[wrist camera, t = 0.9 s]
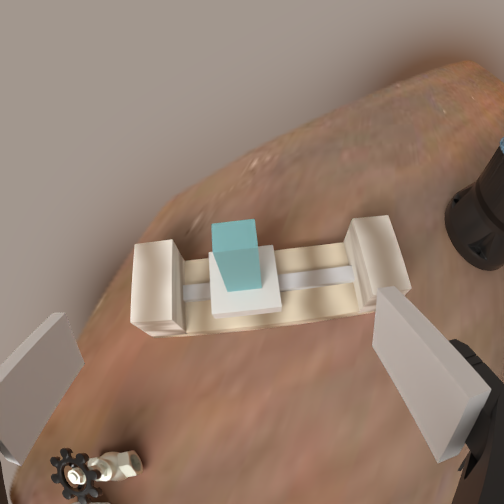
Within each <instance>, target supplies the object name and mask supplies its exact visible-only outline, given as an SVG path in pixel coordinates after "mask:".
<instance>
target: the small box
mask: <svg viewBox="0 0 504 504" xmlns="http://www.w3.org/2000/svg"><path fill="white" fill-rule="evenodd" d="M72 504H80V503H79V502H75V503H72ZM90 504H110V503H92V502H91V503H90Z"/></svg>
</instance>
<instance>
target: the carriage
mask: <svg viewBox="0 0 504 504" xmlns="http://www.w3.org/2000/svg"><path fill="white" fill-rule="evenodd" d="M211 225H212V248H213V252H209V271H210V291H211V309H212V315H213V317H214V318H215V319H219V318H229V317H239V316H248V315H257V314H265V313H274V312H281V311H282V304H281V297H280V290H279V283H278V276H277V269H276V262H275V255H274V249H273V245H266V246H258V243H257V235H256V227H255V219H249V220H240V221H232V222H224V223H216V224H211Z"/></svg>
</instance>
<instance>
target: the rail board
mask: <svg viewBox="0 0 504 504" xmlns="http://www.w3.org/2000/svg"><path fill="white" fill-rule="evenodd" d="M274 255H275V262H276V269H277V276H278V283H279V290H280V297H281V304H282V311H281V312H274V313H265V314H257V315H248V316H239V317H229V318H219V319H215V318H214V317H213V315H212V309H211V291H210V271H209V258H206V259H197V260H189V261H184V259H183V257H182V256H181V254H180V252H179V250H178V248H177V247H176V245H175V243H174V241H173V239H171V240H164V241H156V242H149V243H142V244H135V249H134V261H133V275H132V293H131V323H132V324H134V325H135V326H137V327H138V328H140V329H141V330H143V331H144V332H146V333H147V334H149V335H151V336H152V337H154V338H163V337H179V336H193V335H206V334H218V333H228V332H238V331H248V330H257V329H266V328H274V327H282V326H290V325H297V324H304V323H311V322H318V321H325V320H331V319H338V318H344V317H350V316H356V315H361V314H367V313H372V312H376V301H377V288H383V287H390V286H395V287H396V288H397V289H398V290H399V291H400V292H401V293H402V294H403V295H405V294H406V293H407V292H408V291H409V290H410V289H411V284H410V281H409V277H408V274H407V271H406V267H405V264H404V261H403V258H402V254H401V251H400V248H399V245H398V242H397V239H396V236H395V233H394V230H393V227H392V225H391V222H390V219H389V216H388V215H384V216H374V217H363V218H353V219H352V221H351V223H350V226H349V229H348V231H347V234H346V237H345V239H344V242H342V243H334V244H325V245H317V246H308V247H300V248H291V249H283V250H274Z"/></svg>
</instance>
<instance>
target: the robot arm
mask: <svg viewBox="0 0 504 504" xmlns="http://www.w3.org/2000/svg"><path fill="white" fill-rule="evenodd" d="M445 224H446V229H447V232H448V235H449V237H450V239H451V241H452V243H453V245H454V247H455V248H456V249H457V251H458V252H459V253H460V254H461V256H462V257H463V258H464V259H465V260H467V261H468V262H469V263H470V264H472V265H474V266H475V267H477V268H480V269H482V270H488V271H491V270H496V269H499V268H500V267H502V266H503V265H504V137H503V138H502V139H501V141H500V146H499V147H498V149H497V151H496V152H495V154H494V155H493V157H492V159H491V160H490V162H489V163H488V165H487V166H486V168H485V169H484V171H483V172H482V174H481V175H480V177H479V178H478V180H477V181H476V182H474V183H473V184H471V185H469V186H468V187H466V188H464V189H463V190H461V191H459V192H458V193H457V194H456V195H455V196H454V197H453V198H452V200H451V201H450V203H449V204H448V206H447V208H446V212H445ZM372 347H373V348H374V350H375V352H376V353H377V355H378V357H379V358H380V360H381V362H382V363H383V365H384V367H385V369H386V370H387V372H388V374H389V375H390V377H391V379H392V381H393V382H394V384H395V386H396V388H397V389H398V391H399V393H400V395H401V396H402V398H403V400H404V402H405V403H406V405H407V407H408V409H409V411H410V412H411V414H412V416H413V418H414V420H415V422H416V423H417V425H418V427H419V429H420V431H421V433H422V434H423V436H424V438H425V440H426V442H427V444H428V446H429V448H430V450H431V451H432V453H433V455H434V457H435V459H436V461H437V463H440V462H442V461H445V460H447V459H449V458H452V457H454V456H456V455H458V454H459V453H460V451H461V449H462V447H463V446H464V444H465V443H466V444H467V446H468V448H469V449H470V451H469V453H468V454H467V456H466V458H465V459H464V461H463V462H462V464H461V465H460V467H459V469H458V471H461V470H462V468H463V467H464V468H463V471H462V474H461V478H460V481H459V484H458V487H457V490H456V493H455V496H454V498H453V501H452V504H504V384H503V382H502V381H501V380H500V379H499V378H498V377H497V376H496V375H495V374H494V373H493V372H492V370H491V369H490V368H489V367H488V366H487V365H486V364H485V363H483V361H482V360H481V359H480V358H479V357H478V356H476V354H475V353H474V351H473V350H472V349H471V348H470V347H469V346H468V345H466V344H464V343H462V342H460V341H458V340H457V339H454V340H450V341H448V340H447V339H446V338H445V337H444V336H443V335H442V334H441V333H440V332H439V330H438V329H437V328H436V327H435V326H434V325H433V324H432V323H431V322H430V321H429V320H428V319H427V318H426V317H425V316H424V315H423V314H422V313H421V312H420V311H419V310H418V309H417V308H416V307H415V306H414V305H413V304H412V303H411V302H410V301H409V300H408V299H407V298H406V297H405V296H404V295H403V294H402V293H401V292H400V291H399V290H398V289H397V288H396V287H395V286H390V287H383V288H377V301H376V313H375V324H374V334H373V343H372ZM84 364H85V363H84V361H83V358H82V356H81V353H80V351H79V348H78V346H77V343H76V341H75V338H74V335H73V333H72V330H71V327H70V324H69V321H68V319H67V316H66V313H52V314H51V315H50V316H49V317H48V318H47V319H46V320H45V321H44V322H43V323H42V324H41V325H40V326H39V327H38V328H37V329H36V330H35V331H34V332H33V333H32V334H31V335H30V336H29V337H28V338H27V339H26V340H25V341H24V342H23V343H22V344H21V345H20V346H19V347H18V348H17V349H16V350H15V351H14V352H13V353H12V354H11V355H10V356H9V357H8V358H7V359H6V360H5V361H4V362H3V363H2V364H1V366H0V451H1V453H2V454H3V455H4V457H5V458H6V459H7V460H8V461H10V462H12V463H15V464H17V465H20V466H22V464H23V462H24V460H25V459H26V457H27V455H28V453H29V452H30V450H31V448H32V446H33V445H34V443H35V441H36V440H37V438H38V436H39V435H40V433H41V431H42V430H43V428H44V426H45V425H46V423H47V421H48V420H49V418H50V416H51V415H52V413H53V412H54V410H55V408H56V407H57V405H58V404H59V402H60V401H61V399H62V397H63V396H64V394H65V393H66V391H67V390H68V388H69V387H70V385H71V384H72V382H73V381H74V379H75V377H76V376H77V374H78V373H79V371H80V370H81V369H82V367H83V366H84ZM0 504H8V500H7V495H6V490H5V485H4V480H3V474H2V467H1V462H0Z"/></svg>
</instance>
